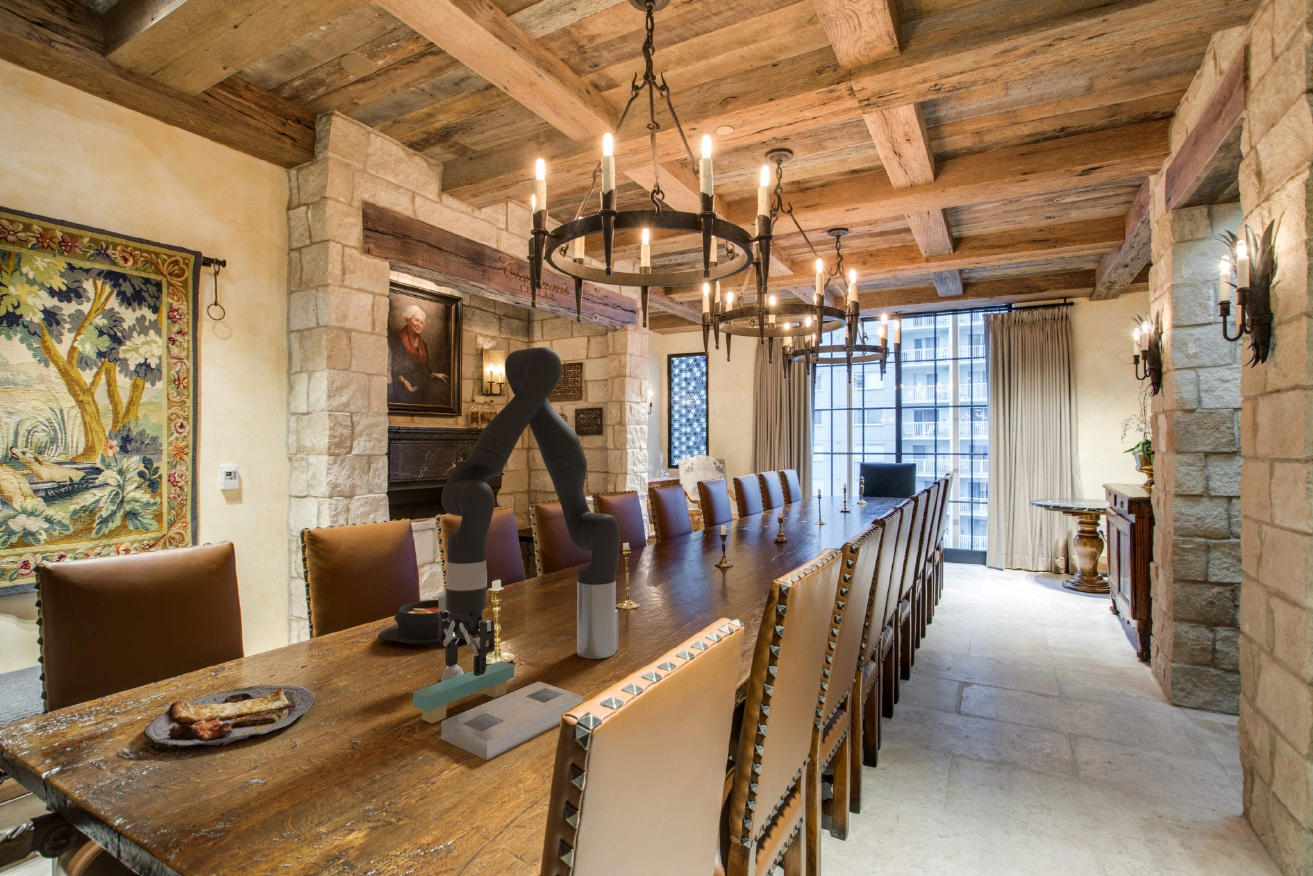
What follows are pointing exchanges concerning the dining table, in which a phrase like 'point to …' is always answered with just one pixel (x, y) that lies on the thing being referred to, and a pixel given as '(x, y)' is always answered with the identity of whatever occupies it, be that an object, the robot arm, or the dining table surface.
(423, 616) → the casserole
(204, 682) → the dining table surface
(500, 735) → the plate
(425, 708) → the strip bar
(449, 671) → the chalice
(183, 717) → the food plate
